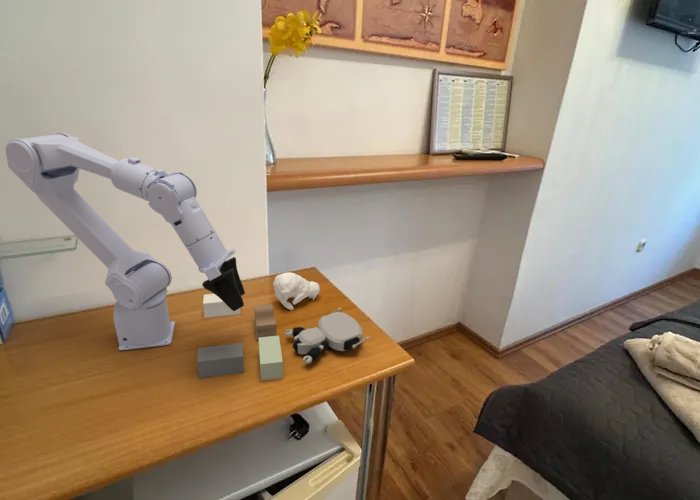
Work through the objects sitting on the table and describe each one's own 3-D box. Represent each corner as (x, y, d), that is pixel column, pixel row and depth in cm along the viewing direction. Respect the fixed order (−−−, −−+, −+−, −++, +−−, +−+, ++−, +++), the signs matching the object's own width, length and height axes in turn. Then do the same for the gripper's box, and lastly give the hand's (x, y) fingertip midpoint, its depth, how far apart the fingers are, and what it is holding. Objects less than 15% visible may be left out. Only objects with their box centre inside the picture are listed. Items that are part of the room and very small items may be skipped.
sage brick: (282, 378, 72) (282, 361, 71) (260, 381, 71) (260, 364, 70) (279, 351, 79) (278, 335, 78) (259, 353, 78) (258, 337, 77)
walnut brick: (276, 339, 83) (276, 324, 81) (257, 342, 82) (256, 326, 80) (272, 318, 90) (272, 304, 88) (254, 320, 89) (254, 305, 87)
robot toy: (306, 377, 74) (371, 350, 81) (305, 358, 72) (372, 333, 79) (282, 341, 84) (343, 320, 91) (281, 324, 82) (343, 304, 89)
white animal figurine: (271, 269, 93) (315, 264, 100) (269, 301, 96) (311, 293, 103) (282, 281, 88) (327, 274, 95) (279, 313, 91) (323, 305, 98)
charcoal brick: (199, 379, 71) (196, 361, 69) (200, 364, 74) (198, 347, 73) (244, 373, 73) (243, 356, 71) (243, 359, 77) (242, 343, 75)
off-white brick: (204, 318, 88) (202, 303, 87) (205, 309, 92) (203, 294, 90) (240, 314, 91) (240, 300, 89) (240, 305, 94) (239, 291, 92)
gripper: (217, 233, 62) (259, 302, 66) (223, 224, 76) (258, 281, 80) (176, 254, 62) (221, 323, 65) (191, 241, 75) (227, 298, 79)
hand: (239, 301), depth 72 cm, fingers open, 7 cm apart
